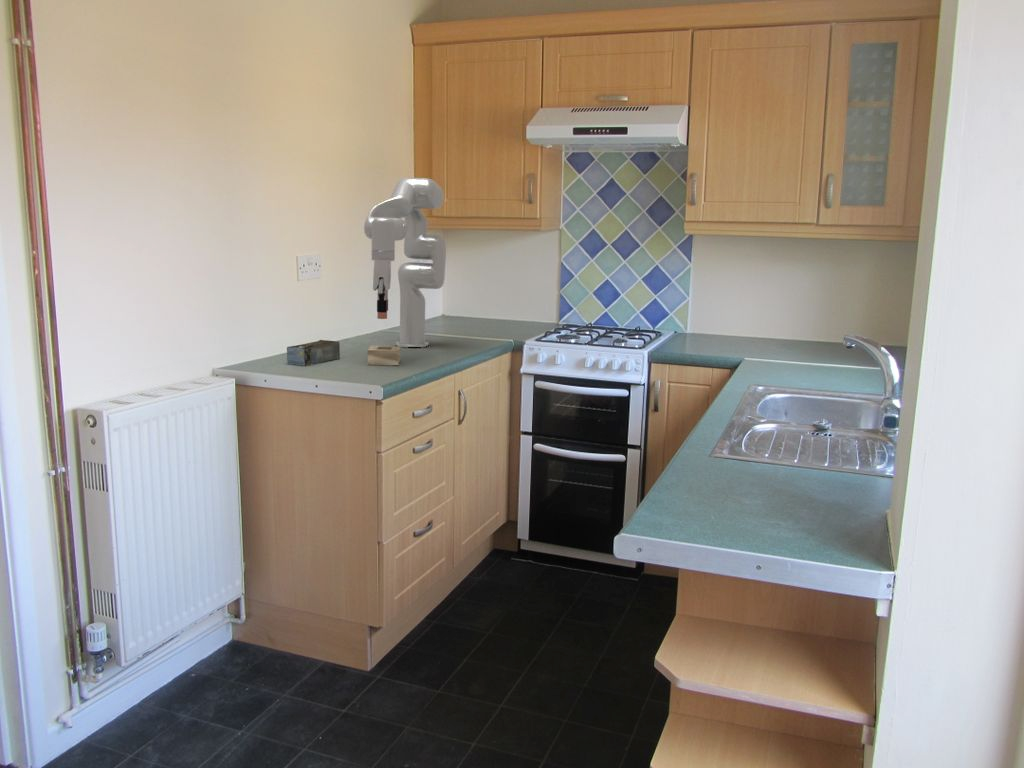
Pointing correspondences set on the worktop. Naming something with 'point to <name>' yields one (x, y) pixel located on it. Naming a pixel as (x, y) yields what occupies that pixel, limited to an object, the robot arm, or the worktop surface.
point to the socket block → (384, 355)
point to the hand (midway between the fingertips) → (382, 311)
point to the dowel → (382, 313)
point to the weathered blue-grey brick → (313, 352)
